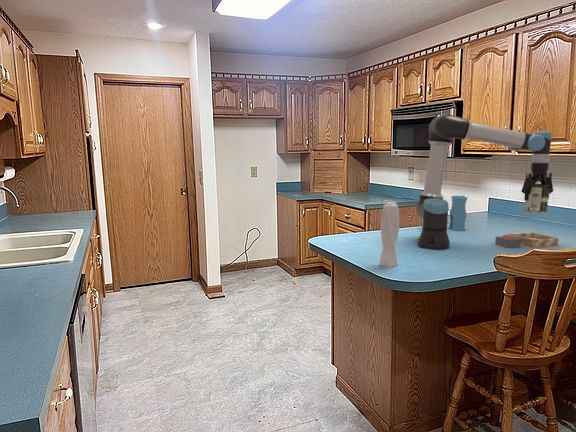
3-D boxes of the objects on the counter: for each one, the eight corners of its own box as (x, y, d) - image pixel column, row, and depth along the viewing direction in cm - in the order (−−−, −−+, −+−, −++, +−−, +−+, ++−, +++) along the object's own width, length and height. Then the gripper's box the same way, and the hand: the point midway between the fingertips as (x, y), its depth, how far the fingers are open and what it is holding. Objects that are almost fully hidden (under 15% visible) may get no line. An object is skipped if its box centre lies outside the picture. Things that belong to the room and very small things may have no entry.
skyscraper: (388, 268, 176) (391, 201, 171) (374, 264, 182) (377, 199, 177) (401, 265, 180) (404, 199, 176) (387, 261, 186) (390, 197, 182)
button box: (506, 247, 211) (507, 239, 210) (495, 244, 219) (495, 236, 218) (520, 246, 213) (520, 239, 212) (508, 243, 221) (509, 235, 220)
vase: (465, 231, 252) (467, 197, 249) (451, 230, 253) (453, 197, 250) (462, 228, 260) (464, 195, 256) (448, 228, 261) (450, 195, 257)
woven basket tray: (531, 247, 212) (532, 240, 212) (507, 240, 228) (508, 233, 227) (557, 245, 216) (558, 238, 216) (532, 238, 232) (533, 232, 231)
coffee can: (542, 210, 223) (545, 183, 221) (550, 213, 213) (553, 185, 211) (521, 209, 225) (523, 183, 223) (527, 212, 215) (530, 184, 213)
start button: (507, 244, 213) (507, 236, 212) (500, 242, 217) (501, 234, 217) (514, 243, 214) (515, 236, 214) (508, 241, 218) (508, 234, 218)
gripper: (527, 163, 209) (523, 208, 213) (564, 162, 214) (560, 206, 218) (515, 162, 216) (511, 206, 220) (552, 161, 222) (547, 204, 225)
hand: (535, 206), depth 219 cm, fingers closed on coffee can, 10 cm apart
